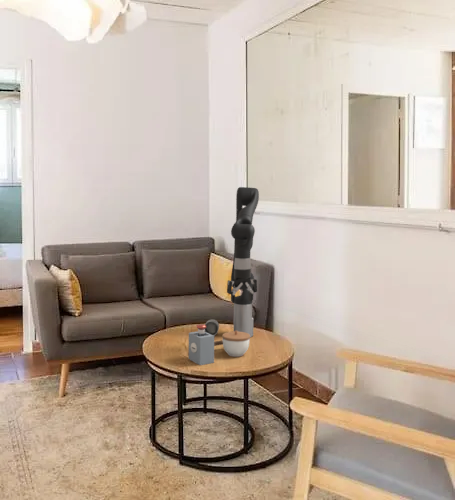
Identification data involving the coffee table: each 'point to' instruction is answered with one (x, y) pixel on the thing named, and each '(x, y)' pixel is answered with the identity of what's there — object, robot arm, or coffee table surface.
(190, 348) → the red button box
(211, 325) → the ceramic mug
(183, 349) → the coffee table surface
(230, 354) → the lidded bowl
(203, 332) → the plunger
